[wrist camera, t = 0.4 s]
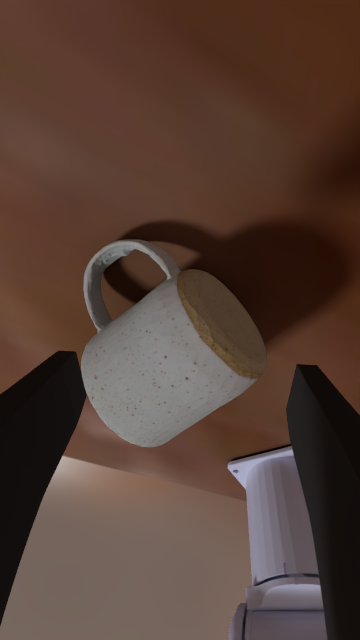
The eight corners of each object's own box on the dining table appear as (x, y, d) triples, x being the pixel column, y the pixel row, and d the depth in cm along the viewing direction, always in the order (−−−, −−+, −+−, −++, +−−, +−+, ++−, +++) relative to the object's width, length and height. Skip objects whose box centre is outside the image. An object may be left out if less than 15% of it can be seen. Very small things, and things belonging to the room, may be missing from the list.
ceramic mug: (269, 320, 21) (288, 413, 15) (180, 380, 25) (164, 474, 18) (148, 196, 18) (105, 245, 11) (66, 286, 21) (-2, 361, 15)
